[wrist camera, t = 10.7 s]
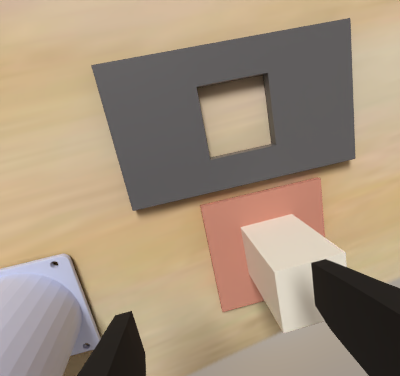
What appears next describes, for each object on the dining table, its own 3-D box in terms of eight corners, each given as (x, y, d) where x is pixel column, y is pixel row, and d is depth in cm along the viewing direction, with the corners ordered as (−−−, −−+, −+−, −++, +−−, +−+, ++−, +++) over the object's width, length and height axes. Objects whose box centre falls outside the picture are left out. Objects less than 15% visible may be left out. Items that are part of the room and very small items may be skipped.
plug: (248, 273, 21) (283, 333, 15) (240, 227, 20) (274, 272, 14) (297, 260, 21) (349, 313, 15) (291, 213, 20) (345, 252, 14)
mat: (221, 308, 22) (222, 312, 21) (200, 205, 19) (201, 207, 19) (325, 280, 22) (328, 282, 22) (317, 177, 20) (320, 178, 20)
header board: (133, 207, 18) (132, 210, 18) (94, 67, 16) (91, 65, 15) (347, 157, 20) (355, 158, 19) (342, 22, 17) (350, 18, 17)
